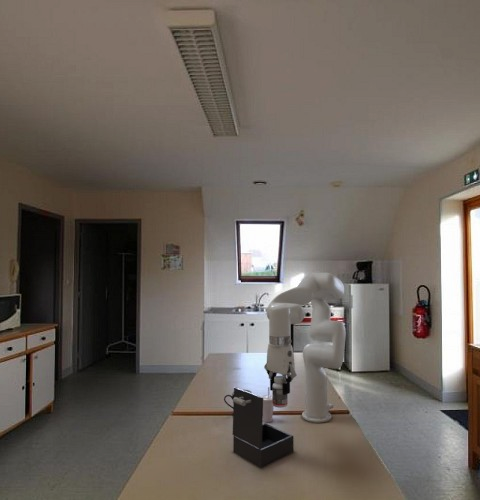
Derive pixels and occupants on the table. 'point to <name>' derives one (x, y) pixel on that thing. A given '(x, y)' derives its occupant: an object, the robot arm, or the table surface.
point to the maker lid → (248, 417)
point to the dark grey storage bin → (265, 447)
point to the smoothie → (267, 407)
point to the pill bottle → (279, 393)
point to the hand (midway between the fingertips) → (279, 391)
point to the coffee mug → (233, 397)
